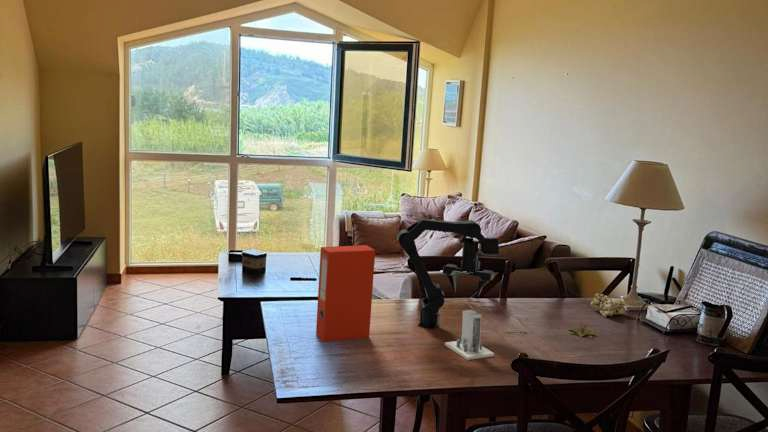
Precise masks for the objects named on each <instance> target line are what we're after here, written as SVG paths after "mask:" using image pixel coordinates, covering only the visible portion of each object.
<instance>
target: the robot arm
mask: <svg viewBox="0 0 768 432" xmlns="http://www.w3.org/2000/svg"><path fill="white" fill-rule="evenodd" d="M425 231H431V232H432V231H433V232H444V233H454V234H458V235H461V237H460V238H458V239H457V241H458V242H459V243H462V253H461V261H460V262H461V265H460V267H458V265H457V264H453V263H447V264H446V265H444V266H443V268H442V274H445V277H447V278H448V280H449V282H450V285H451V288H452V290H453V293H456V291H457V277H458V276H457V275H458V274H461V275H468V276H475V277H479V280H478V284H477V290H476V291H477V292H476V297H478V298H479V297H480V294H481V292H482V290H483V288H484V286H485V284H487V283H488V282H491V281H492V280H494V278H495V272H494V271H493V270H489V269H483V270H482V271H479V270H480V267H481V261H480V260H479V255H478V253H481V255H482V256H491V257H492V256H495V257H497V256H498V255H499V251H500V247H499V239H498V237H494V236H493V237H485V236H484V235H483V234H482V228H481V226H480V225H479V223H477V221H475V220H472V219H470V220H467V219H466V220H460V221H450V220H449V221H448V220H439V219H430V218H429V219H428V218H424V217H422V218H421V217H420V218H419V219H418V220H417V221H416V222H414V223H413V224H411V225H409V226H408V227H407V228H406V229H405V228H404V229H401V230H399V231H398V233H397V235H396V238H397V241H398V244H399V245H400V247H401V248H402V249H403V251H404V253H406V254H407V255H408V257H409V259H410V261H411V263H412V265H413V267H414V269H415V271H416V272H417V275H418V276H419V277H418V278H419V279H420V281H421V283H422V284H423V285H422V286H423V287H424V290H425V294H426V297H425V298H423V299H422V300H421V306H422V307H421V309H420V316H419V323H418V324H417V326H419V327H422V328H423V327H424V328H428V329H433V330H434V329H435V328H436V327H438V326H439V325H440V316H441V315H440V313H439V312H440V311H439V310H440V309H441V308H442V307H443V306H444V304H445V298H446V296H445V293H444V291H443V290H442V287H441V285H440V284H439V283H436V284H435V282H433V280H432V278H431V276H430V274H429V271H428V270H427V268H426V266H425V264H424V262H423V259H422V258H421V256H420V254H419V252H418V249H417V246H416V242H415V240H417V239H418V238H419V237H420V236H421V235H422V234H423V233H424V232H425ZM474 239H476V240H474Z"/></svg>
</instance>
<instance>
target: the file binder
mask: <svg viewBox="0 0 768 432" xmlns="http://www.w3.org/2000/svg"><path fill="white" fill-rule="evenodd" d="M319 255H320V256H319V272H318V273H319V275H318V291H317V307H316V308H317V309H316V326H315V335H316V336H317V337H318V338H319V339H320V340H321V341H322V342H323V343H328V342H338V341H344V340H345V341H347V340H355V339H356V340H358V339H364V338H369V337H370V330H371V328H370V327H371V318H372V303H373V301H372V300H373V290H374V289H373V288H374V286H373V285H374V274H375V261H376V260H375V259H376V249H374V248H372V247H370V246H369V245H366V244H364V245H342V246H341V245H340V246H320V254H319Z"/></svg>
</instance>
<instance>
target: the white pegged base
mask: <svg viewBox="0 0 768 432" xmlns="http://www.w3.org/2000/svg"><path fill="white" fill-rule="evenodd" d="M461 343H462V335H461V336H460V338H456V340H455V341H447V342H444V346H446V348H449V350H451V351H453V352H454V353H456V354H457V355H458V356H461V357H462V358H463V359H465V360H467V361H468V360H469V361H470V360H475V359H482V358H490V357H491V358H492V357H494V356H495V352H493V351H491V350H489V349H488V348H486V346H485V347H484V346H483V341H480V350H479V345H475V350H474V351H470V350H468V349H467V347H468V344H466V343H465V344H464V347H462V346H461Z"/></svg>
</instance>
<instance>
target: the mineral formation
mask: <svg viewBox="0 0 768 432" xmlns="http://www.w3.org/2000/svg"><path fill="white" fill-rule="evenodd" d="M626 303H627V302H626V301H625V300H623V299H620V298H616V299H614V300H613V299H612V298H610V297H609V296H608V295H605V294H603V293H602V294H599V293H595V295H594V298H593V300H592V301H591V302H590V307H595V308H596V309H597V310H598V312H599V313H600V314H601V315H602V317H603V318H604V317H605V318H606V317H607V316H609V317H613V315H616V316H618V315H621V314H622V315H623V314H624V312H628V311H629V310H628V308H627V307H625V305H626Z"/></svg>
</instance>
